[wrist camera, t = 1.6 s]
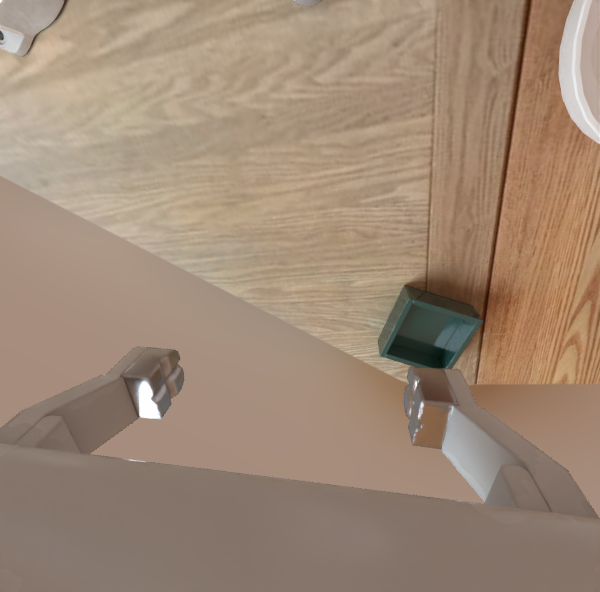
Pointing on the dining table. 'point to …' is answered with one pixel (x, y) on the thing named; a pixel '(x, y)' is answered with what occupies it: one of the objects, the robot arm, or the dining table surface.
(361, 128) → the dining table surface
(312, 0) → the salt shaker
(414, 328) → the holder
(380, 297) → the dining table surface
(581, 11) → the bowl
